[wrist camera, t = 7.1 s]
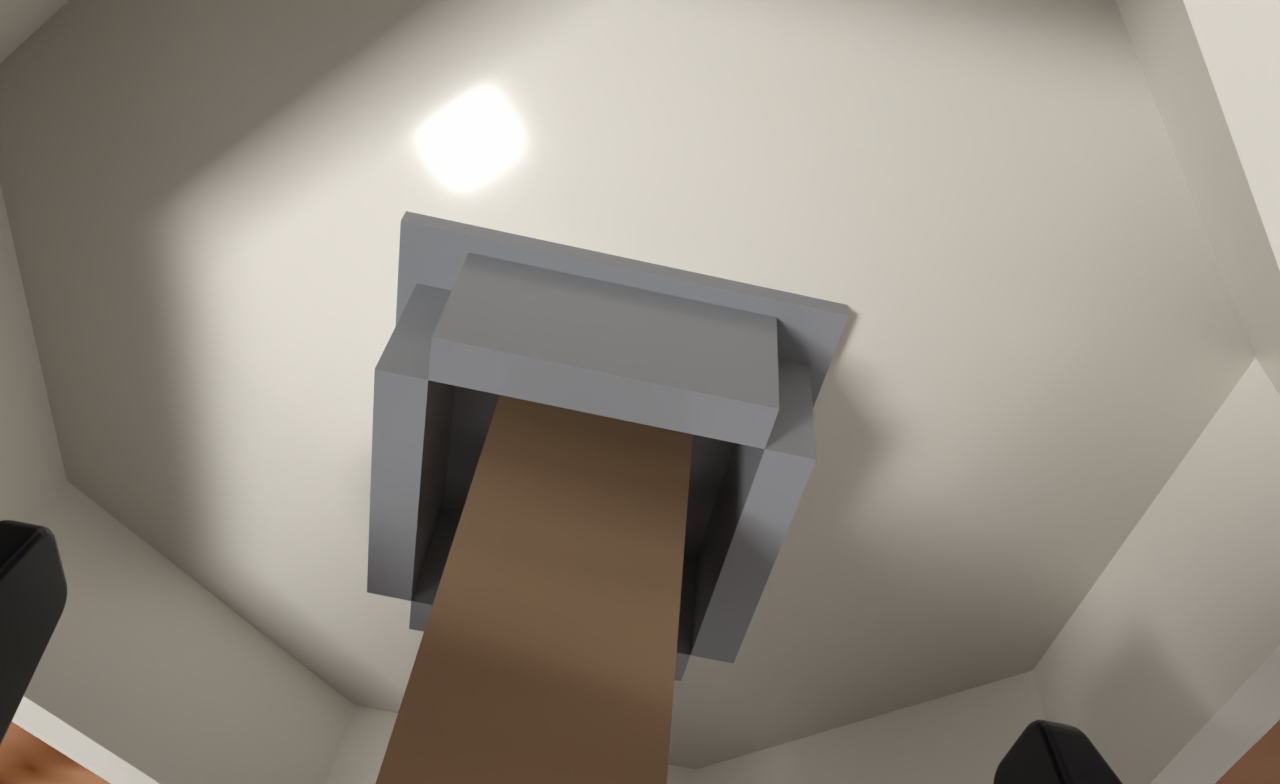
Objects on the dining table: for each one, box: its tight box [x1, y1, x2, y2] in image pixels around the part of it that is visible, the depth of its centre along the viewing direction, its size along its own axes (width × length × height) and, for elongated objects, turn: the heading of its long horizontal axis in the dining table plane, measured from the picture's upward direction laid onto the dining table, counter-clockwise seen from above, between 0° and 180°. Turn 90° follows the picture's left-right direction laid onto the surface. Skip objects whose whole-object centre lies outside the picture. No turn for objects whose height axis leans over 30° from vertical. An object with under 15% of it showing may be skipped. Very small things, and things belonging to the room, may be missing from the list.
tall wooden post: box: [376, 395, 693, 784], centre depth 9 cm, size 2×2×8 cm
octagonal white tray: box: [0, 0, 1280, 784], centre depth 11 cm, size 14×14×3 cm
